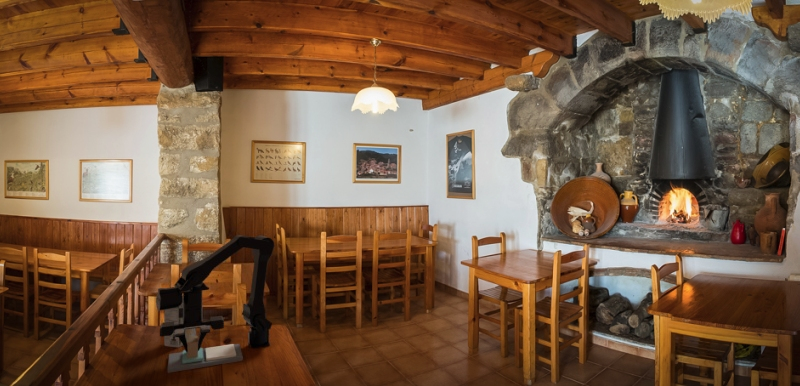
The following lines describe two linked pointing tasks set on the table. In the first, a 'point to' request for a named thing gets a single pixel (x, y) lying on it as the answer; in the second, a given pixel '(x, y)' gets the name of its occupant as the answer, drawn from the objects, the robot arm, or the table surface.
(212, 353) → the board
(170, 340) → the coffee box
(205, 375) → the table surface
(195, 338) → the stub
